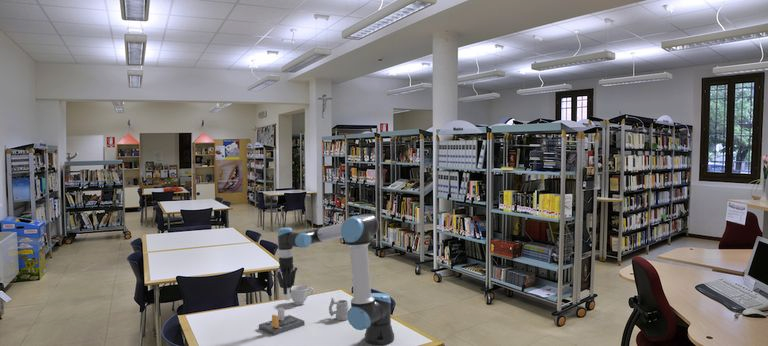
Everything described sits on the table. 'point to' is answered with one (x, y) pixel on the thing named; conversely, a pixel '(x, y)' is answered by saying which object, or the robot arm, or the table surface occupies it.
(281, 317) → the fader white
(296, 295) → the teacup
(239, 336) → the table surface
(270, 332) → the console
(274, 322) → the fader orange
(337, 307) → the mug
